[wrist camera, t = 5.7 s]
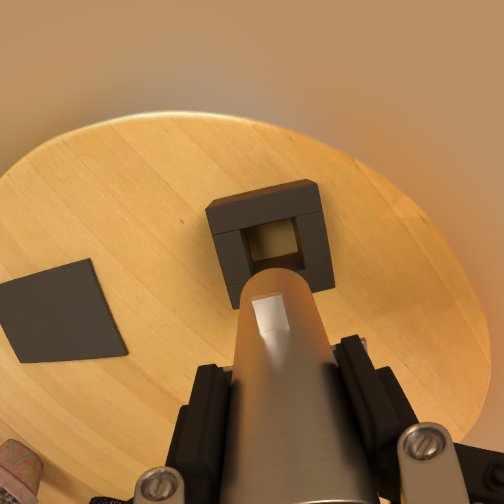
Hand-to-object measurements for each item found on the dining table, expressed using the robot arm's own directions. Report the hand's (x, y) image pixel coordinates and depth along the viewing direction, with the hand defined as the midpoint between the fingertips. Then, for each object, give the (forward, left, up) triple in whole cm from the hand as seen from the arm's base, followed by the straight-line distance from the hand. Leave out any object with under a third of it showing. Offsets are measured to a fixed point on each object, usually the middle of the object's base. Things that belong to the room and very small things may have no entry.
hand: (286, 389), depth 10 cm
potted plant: (+34, -61, -21) cm, 73 cm away
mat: (+4, -29, -21) cm, 36 cm away
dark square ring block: (0, 0, -21) cm, 21 cm away
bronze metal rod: (0, 0, -7) cm, 7 cm away
